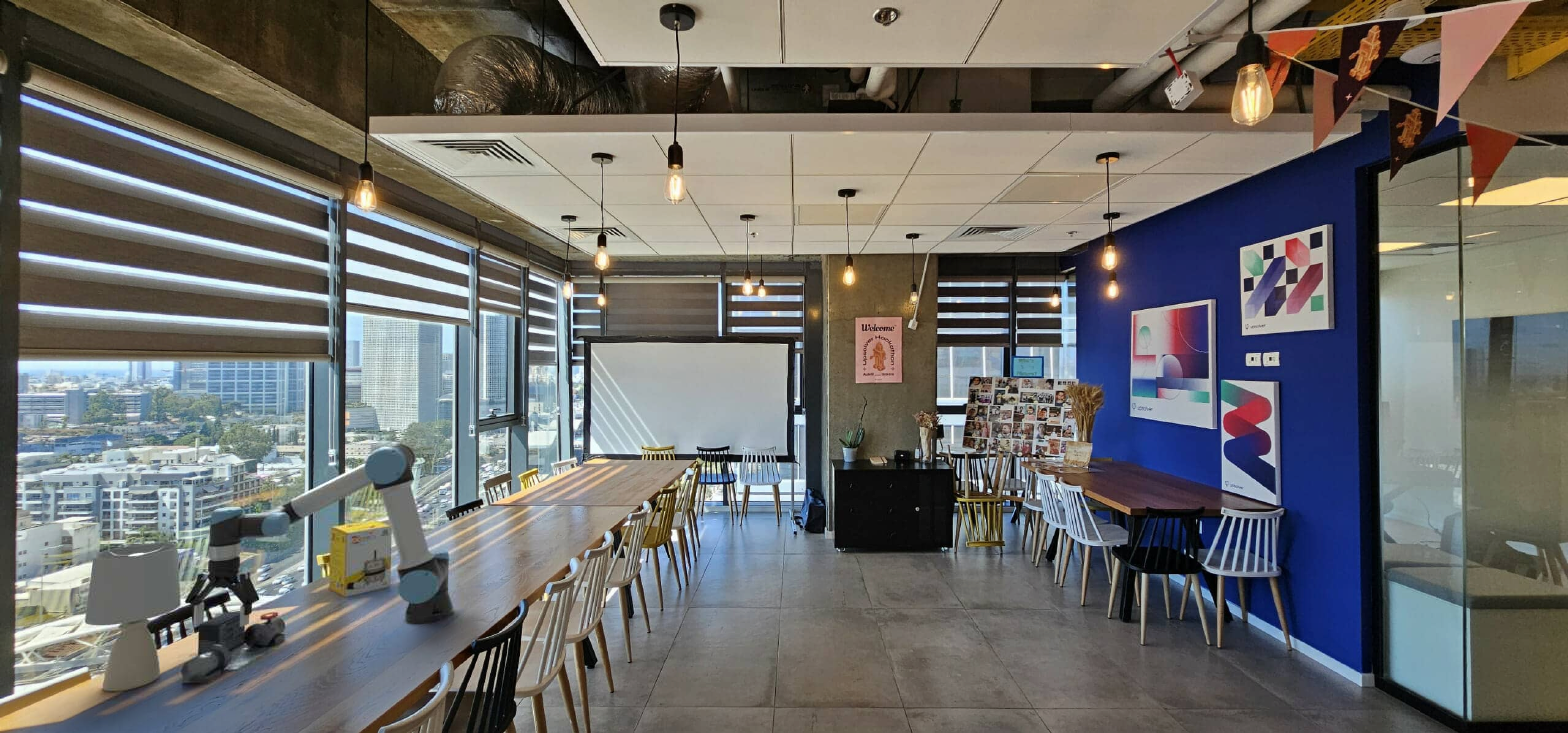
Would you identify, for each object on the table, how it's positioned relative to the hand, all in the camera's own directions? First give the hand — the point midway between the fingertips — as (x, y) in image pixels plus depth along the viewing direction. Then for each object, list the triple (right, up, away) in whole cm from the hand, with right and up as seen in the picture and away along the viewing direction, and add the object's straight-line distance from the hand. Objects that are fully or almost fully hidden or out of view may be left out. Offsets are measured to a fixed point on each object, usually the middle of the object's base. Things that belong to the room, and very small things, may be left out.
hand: (221, 625), depth 195 cm
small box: (0, -8, 0) cm, 8 cm away
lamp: (-6, -8, -21) cm, 23 cm away
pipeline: (+11, -8, -6) cm, 15 cm away
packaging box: (+3, -10, +59) cm, 60 cm away
